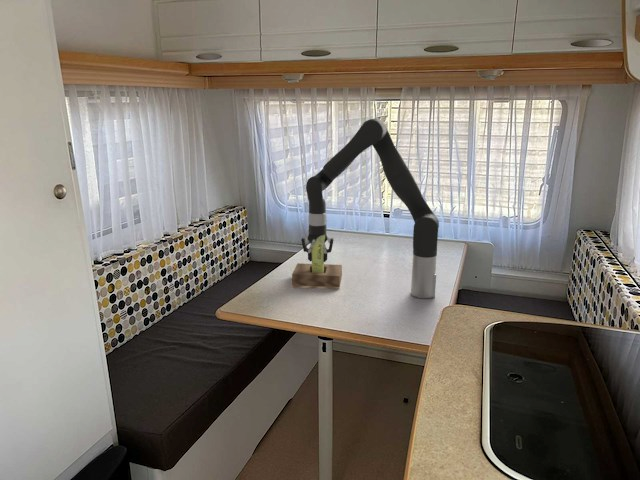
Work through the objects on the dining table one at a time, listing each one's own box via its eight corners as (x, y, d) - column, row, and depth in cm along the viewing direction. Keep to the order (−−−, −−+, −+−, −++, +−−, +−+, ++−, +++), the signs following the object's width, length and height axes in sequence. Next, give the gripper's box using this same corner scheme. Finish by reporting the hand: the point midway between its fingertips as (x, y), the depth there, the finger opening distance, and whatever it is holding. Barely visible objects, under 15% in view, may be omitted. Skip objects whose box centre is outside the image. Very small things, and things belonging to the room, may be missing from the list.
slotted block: (341, 277, 213) (341, 264, 212) (339, 289, 200) (339, 275, 198) (297, 275, 216) (297, 263, 214) (292, 287, 202) (292, 274, 201)
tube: (312, 278, 204) (312, 233, 198) (309, 274, 208) (309, 230, 203) (325, 276, 205) (325, 232, 200) (321, 272, 210) (321, 229, 204)
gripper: (299, 224, 198) (299, 263, 202) (333, 225, 196) (333, 264, 201) (301, 220, 205) (302, 257, 210) (335, 221, 203) (335, 258, 208)
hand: (317, 261), depth 205 cm, fingers closed on tube, 5 cm apart
